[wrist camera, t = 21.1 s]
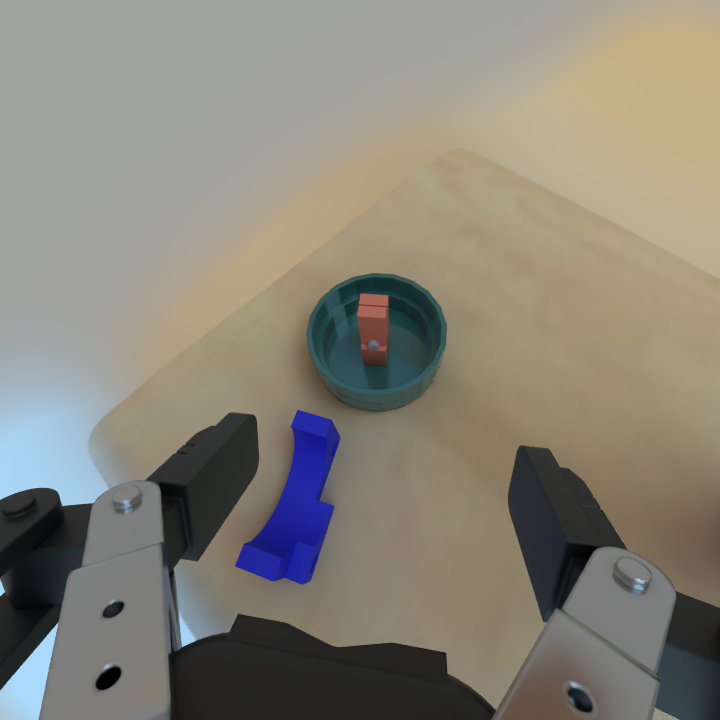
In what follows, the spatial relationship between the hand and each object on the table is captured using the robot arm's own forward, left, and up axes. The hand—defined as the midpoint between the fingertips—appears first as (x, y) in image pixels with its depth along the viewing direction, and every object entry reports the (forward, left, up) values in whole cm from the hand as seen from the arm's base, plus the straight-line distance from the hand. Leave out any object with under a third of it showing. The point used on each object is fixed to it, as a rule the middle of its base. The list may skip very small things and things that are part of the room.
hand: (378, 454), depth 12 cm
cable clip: (+7, 0, -24) cm, 25 cm away
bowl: (+3, -15, -24) cm, 28 cm away
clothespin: (+3, -15, -23) cm, 28 cm away
